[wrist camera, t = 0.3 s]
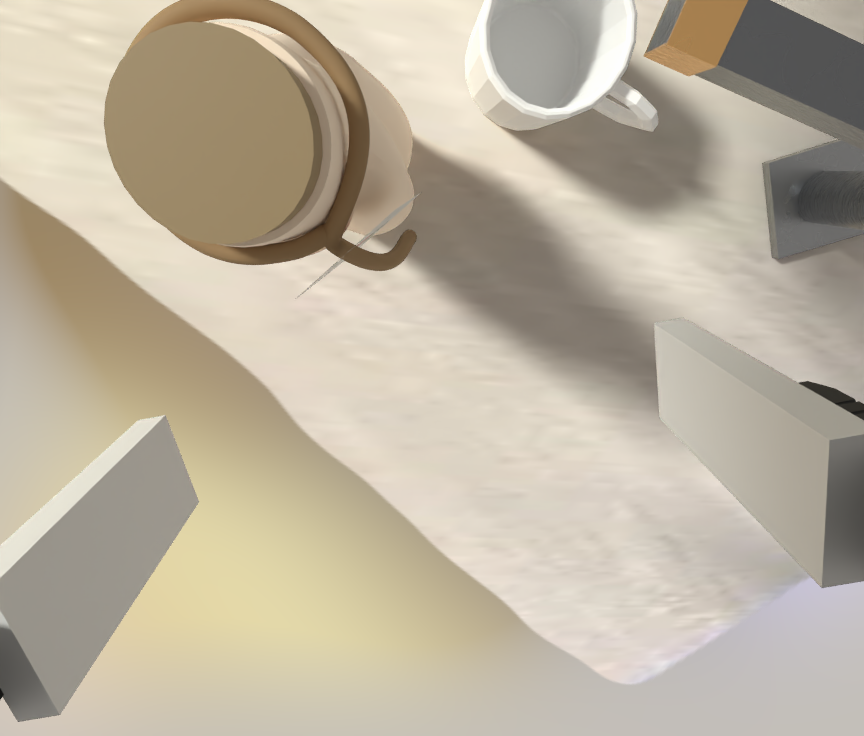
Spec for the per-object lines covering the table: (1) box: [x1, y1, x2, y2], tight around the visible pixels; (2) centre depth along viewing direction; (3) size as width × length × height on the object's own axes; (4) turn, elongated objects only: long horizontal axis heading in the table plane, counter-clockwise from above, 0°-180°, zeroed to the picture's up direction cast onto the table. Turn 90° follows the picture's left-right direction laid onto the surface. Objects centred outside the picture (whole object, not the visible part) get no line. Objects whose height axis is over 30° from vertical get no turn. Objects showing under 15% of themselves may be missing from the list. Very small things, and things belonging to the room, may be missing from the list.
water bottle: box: [104, 0, 420, 298], centre depth 27 cm, size 10×9×28 cm
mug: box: [465, 0, 658, 132], centre depth 34 cm, size 8×12×10 cm
